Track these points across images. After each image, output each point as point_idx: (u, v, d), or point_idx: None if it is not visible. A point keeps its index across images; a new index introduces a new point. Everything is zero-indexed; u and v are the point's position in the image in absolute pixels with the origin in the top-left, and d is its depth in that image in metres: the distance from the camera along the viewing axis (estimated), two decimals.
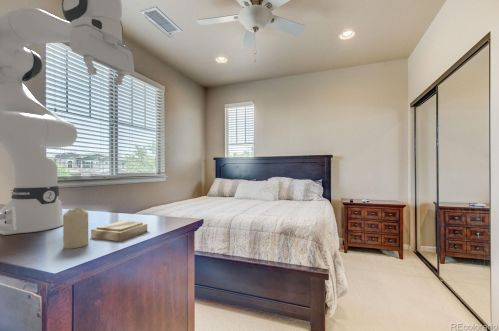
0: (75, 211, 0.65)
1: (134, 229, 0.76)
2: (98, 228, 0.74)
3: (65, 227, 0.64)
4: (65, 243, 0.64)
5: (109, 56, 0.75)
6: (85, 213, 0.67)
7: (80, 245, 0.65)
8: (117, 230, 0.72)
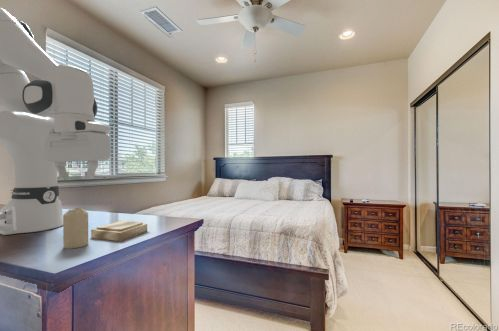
0: (75, 211, 0.65)
1: (134, 229, 0.76)
2: (98, 228, 0.74)
3: (65, 227, 0.64)
4: (65, 243, 0.64)
5: None
6: (85, 213, 0.67)
7: (80, 245, 0.65)
8: (117, 230, 0.72)
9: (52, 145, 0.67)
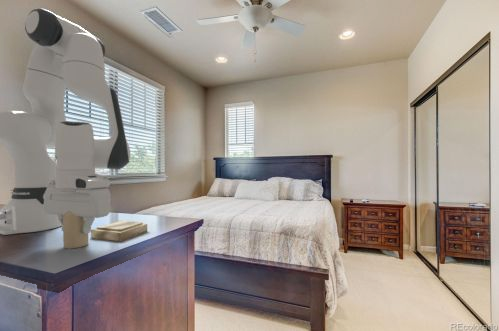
0: None
1: (134, 229, 0.76)
2: (98, 228, 0.74)
3: (65, 226, 0.64)
4: (65, 243, 0.64)
5: None
6: None
7: (80, 245, 0.65)
8: (117, 230, 0.72)
9: (52, 198, 0.67)
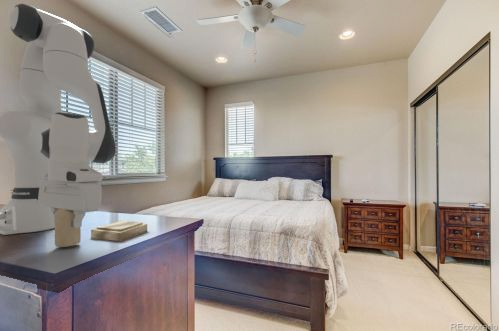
0: None
1: (134, 229, 0.76)
2: (98, 228, 0.74)
3: (55, 225, 0.63)
4: (56, 241, 0.63)
5: None
6: None
7: (71, 244, 0.64)
8: (117, 230, 0.72)
9: (46, 190, 0.67)
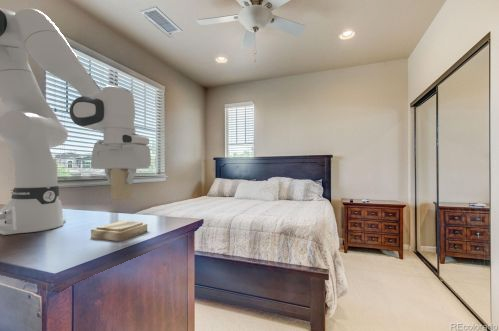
0: None
1: (134, 229, 0.76)
2: (98, 228, 0.74)
3: (113, 181, 0.75)
4: (113, 195, 0.75)
5: None
6: None
7: (126, 197, 0.76)
8: (117, 230, 0.72)
9: (99, 154, 0.78)
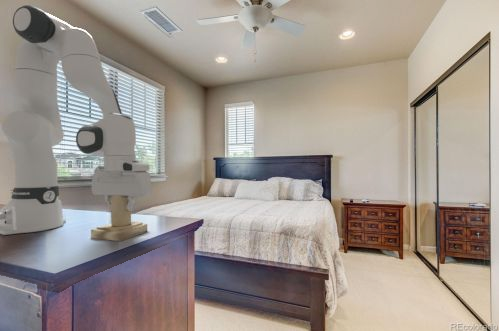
0: None
1: (134, 229, 0.76)
2: (98, 228, 0.74)
3: (113, 208, 0.75)
4: (113, 222, 0.75)
5: None
6: None
7: (125, 224, 0.76)
8: (117, 230, 0.72)
9: (99, 180, 0.78)
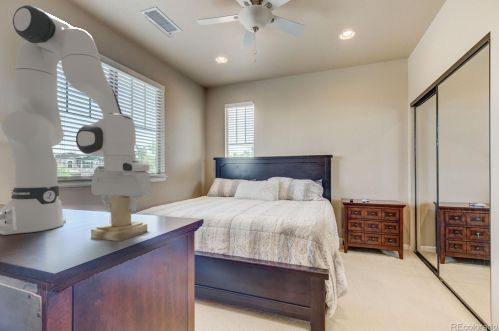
0: None
1: (134, 229, 0.76)
2: (98, 228, 0.74)
3: (113, 208, 0.75)
4: (113, 222, 0.75)
5: None
6: (129, 196, 0.78)
7: (125, 224, 0.76)
8: (117, 230, 0.72)
9: (99, 180, 0.78)
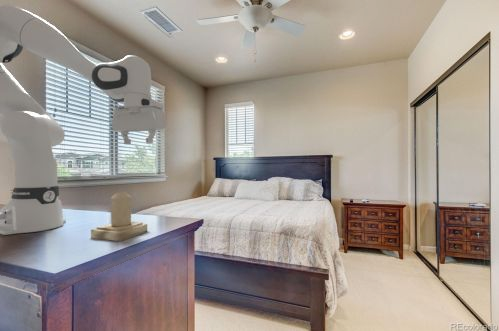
0: (121, 194, 0.76)
1: (134, 229, 0.76)
2: (98, 228, 0.74)
3: (113, 208, 0.75)
4: (113, 222, 0.75)
5: None
6: (129, 196, 0.78)
7: (125, 224, 0.76)
8: (117, 230, 0.72)
9: (119, 118, 0.88)
